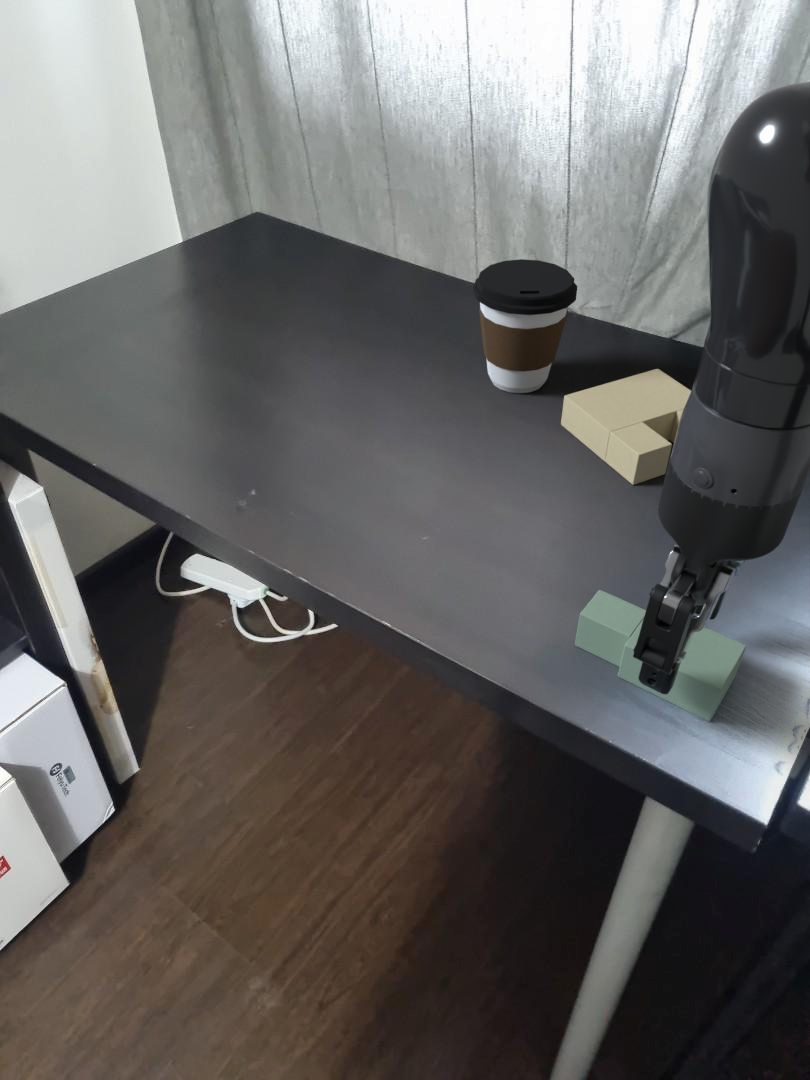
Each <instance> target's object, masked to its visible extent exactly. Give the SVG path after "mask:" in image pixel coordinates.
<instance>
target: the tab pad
mask: <svg viewBox="0 0 810 1080" xmlns="http://www.w3.org/2000/svg"><path fill="white" fill-rule="evenodd" d="M645 613H646V609H644V608H642V607H640V606H637V605H635V604H633V603H631V602H629V601H626V600H624V599H622V598H620V597H617V596H616V595H613V594H611V593H608V592H606V591H604V590H602V589H598V591H597V592H596V593H595V595H593V597H592V598H591V600H590V601H589V602H588V603H587V604H586V605H585V607H584V608H583V609H582V610H581V612H580V613H579V618H578V624H577V630H576V635H575V641H574V646H575V647H577V648H578V649H579V648H580V649H582V650H583V651H586V652H588V653H589V654H591V655H594V656H595V657H598V658H600V659H602V660H604V661H606V662H608V663H610V664H612V665H614V666H615V667H618V673H617V677H618V678H619V679H622V680H624V681H626V682H627V683H630V684H632V685H634V686H636V687H638V688H640V689H642V690H644V691H645V692H648V693H650V694H652V695H653V696H656V697H658V698H661V699H662V700H664V701H666V702H669V703H670V704H673V705H674V706H677V707H678V708H679V709H682V710H685V711H686V712H689V713H691V714H692V715H694V716H696V717H698V718H701V719H702V720H705V721H707V722H711V720H712V719H713V718H714V716H715V714H716V712H717V710H718V708H719V706H720V705H721V703H722V701H723V700H724V698H725V696H726V694H727V692H728V690H729V689H730V687H731V685H732V683H733V682H734V680H735V678H736V676H737V673H738V671H739V668H740V665H741V662H742V660H743V658H744V655H745V652H746V650H747V645H746V644H744V643H742V642H740V641H738V640H735V639H733V638H731V637H729V636H726V635H724V634H721V633H719V632H717V631H715V630H713V629H710V628H708V627H707V626H706V627H705V628H704V629H703V630H701V631H698V632H694V634H693V636H692V638H691V641H690V643H689V645H688V647H687V649H686V653H687V654H686V656H685V658H684V660H683V659H682V660H681V663H680V666H679V669H678V673H677V676H676V679H675V682H674V685H673V687H672V688H671V690H670V692H669V693H668V694H661V693H659V692H657V691H655V690H653V689H651V688H649V687H647V686H645V685H643V684H642V683H641V682H640V681H639V679H638V677H639V673H640V670H641V666H642V663H643V662H642V661H641V660H638V659H636V658H634V657H633V654H634V651H633V650H634V648H635V646H636V644H637V640H638V637H639V633H640V630H641V627H642V623H643V620H644V616H645Z"/></svg>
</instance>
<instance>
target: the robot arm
mask: <svg viewBox="0 0 810 1080" xmlns="http://www.w3.org/2000/svg"><path fill="white" fill-rule="evenodd" d="M708 178H709V179H708V186H707V195H706V196H707V197H706V216H707V217H706V219H707V245H708V248H707V249H708V284H709V301H710V304H709V306H710V321H709V324H708V328H707V331H706V335H705V339H704V343H703V346H702V351H701V354H700V358H699V362H698V366H697V371H696V374H695V378H694V381H693V385H692V388H691V389H690V390H691V393H690V395H689V398H688V400H687V402H686V404H685V407H684V409H683V412H682V415H681V418H680V422H679V425H678V429H677V433H676V437H675V441H674V443H673V444H672V448H671V452H670V456H669V460H668V464H667V468H666V472H665V476H664V480H663V485H662V489H661V493H660V497H659V500H658V504H657V514H658V519H659V521H660V523H661V525H662V527H663V529H664V530H665V531H666V533H667V534H668V535H669V536H670V538H671V539H673V541H674V542H675V543H676V544H674V545H673V546H672V548H671V550H670V552H669V554H668V557H667V559H666V561H665V564H664V569H665V574H664V575H663V578H662V580H661V583H656V584H655V586H654V587H652V588H651V590H650V592H649V599H648V603H647V606H646V609H645V610H646V613H645V616H644V620H643V623H642V627H641V630H640V633H639V637H638V640H637V644H636V646H635V648H634V650H633V651H634V654H633V657H634V658H636V659H638V660H641V661H642V662H643V663H642V666H641V670H640V673H639V677H638V679H639V681H640V682H641V683H642V684H643V685H645V686H647V687H649V688H651V689H653V690H655V691H657V692H659V693H661V694H668V693H669V692H670V690H671V688H672V687H673V685H674V682H675V679H676V676H677V673H678V669H679V666H680V663H681V660H682V659H683V660H684V658H685V656H686V654H687V653H686V649H687V647H688V645H689V643H690V641H691V638H692V636H693V634H694V632H698V631H701V630H703V629H704V628H705V627H706V628H707V626H708V623H709V622H710V620H711V621H712V620H715V619H716V617H717V616H718V614H719V613H720V610H721V607H722V605H723V602H724V599H725V596H726V593H727V591H728V589H729V588H730V586H731V583H732V581H733V578H734V577H737V576H739V574H740V572H741V570H742V567H743V566H744V564H745V562H746V561H750V560H755V559H759V558H762V557H764V556H766V555H768V554H770V553H772V552H773V551H774V550H776V549H777V548H778V547H779V546H780V544H781V543H782V542H783V540H784V538H785V536H786V533H787V531H788V528H789V525H790V523H791V521H792V518H793V515H794V513H795V510H796V508H797V505H798V502H799V500H800V498H801V495H802V492H803V491H804V487H805V484H806V481H807V479H808V477H809V474H810V81H804V82H798V83H792V84H786V85H782V86H778V87H777V88H774V89H772V90H771V89H770V90H769V91H767V92H764V93H763V94H761V95H760V96H758V97H757V98H755V99H754V100H753V101H751V102H750V103H749V104H748V105H747V106H746V107H745V108H744V109H743V111H741V112H740V114H738V116H737V117H736V119H735V120H734V121H733V123H732V125H731V126H730V128H729V129H728V130H727V132H726V134H725V136H724V138H723V140H722V141H721V143H720V146H719V147H718V150H717V153H716V154H715V157H714V160H713V164H712V167H711V171H710V174H709V177H708ZM695 614H696V615H695Z"/></svg>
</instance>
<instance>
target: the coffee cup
mask: <svg viewBox="0 0 810 1080" xmlns="http://www.w3.org/2000/svg"><path fill="white" fill-rule="evenodd" d="M472 288H473V289H472V294H473V295H474V297H475V299H476V300H477V302H479V309H478V313H479V321H480V330H481V331H480V332H481V338H482V346H483V347H482V348H483V355H484V357H485V359H486V368H487V374H488V377H489V379H490V381H491V382H492V385H493V386H494V387H496V388H497V389H499V390H501V391H504V392H507V393H512V394H528V393H532V392H535V391H537V390H539V389H540V388H541V387H543V385H544V384H545V383H546V382H547V380H548V379H549V378H548V377H549V374H550V371H551V367H552V364H553V362H554V361H555V359H556V356H557V352H558V348H559V346H560V341H561V339H562V334H563V331H564V328H565V325H566V321H567V317H568V312H569V307H570V306H571V305H572V304H574V303H575V302H576V301H577V295H578V285H577V283H575V277H574V276H573V275H572V273H570V272H569V270H568V269H566V268H564V267H562V266H560V265H558V264H556V263H551V262H547V261H544V260H539V259H524V258H523V259H522V258H521V259H509V260H503V261H499V262H496V263H493V264H490V265H488V266H487V267H485V268H484V269H482V270H481V271H480V272H479V274H478V277H476V279H475V281H474V283H473V286H472Z"/></svg>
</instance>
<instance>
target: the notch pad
mask: <svg viewBox="0 0 810 1080" xmlns="http://www.w3.org/2000/svg"><path fill="white" fill-rule="evenodd" d="M691 390H692V389H689V388H688V387H686V386H684V385H683V384H682V383H680V382H678V381H677V380H675V379H674V378H673V377H672V376H670V375H668V374H667V373H665V372H664V371H662V370H661V369H659V368H655V369H651V370H647V371H645V372H642V373H637V374H634V375H631V376H627V377H624V378H620V379H616V380H612V381H610V382H606V383H603V384H600V385H596V386H593V387H589V388H586V389H582V390H579V391H575V392H572V393H568V394H565V395H564V396H563V404H562V413H561V418H560V419H561V420H560V425H561V426H562V427H563V428H564V429H566V431H568V432H569V433H570V434H571V435H572V436H574V437H575V438H576V439H577V440H578V441H580V442H581V443H582V444H583V445H584V446H586V447H587V448H588V449H589V450H590V451H591V452H593V453H594V454H595V455H596V456H598V457H599V458H600V459H601V460H602V461H604V462H605V463H606V464H608V466H609V467H611V468H612V469H613V470H614V471H615V472H617V473H618V474H619V475H620V476H622V477H623V478H624V479H625V480H626V481H627V482H629V483H630V484H631V485H632V486H634V485H637V484H641V483H643V482H647V481H649V480H652V479H655V478H658V477H660V476H663V475H666V473H667V469H668V465H669V460H670V456H671V452H672V447H673V444H674V441H675V437H676V433H677V429H678V425H679V422H680V418H681V415H682V412H683V409H684V407H685V404H686V402H687V400H688V398H689V395H690V393H691ZM672 443H673V444H672Z"/></svg>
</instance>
